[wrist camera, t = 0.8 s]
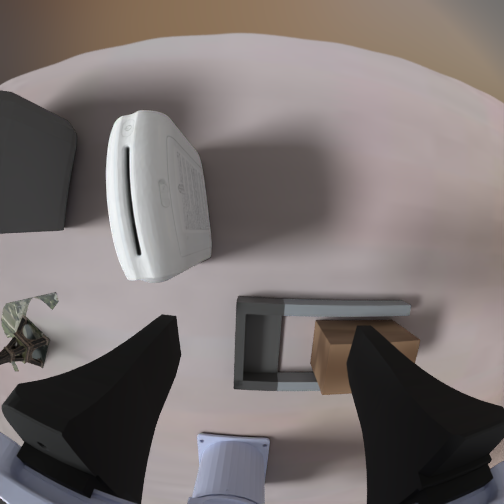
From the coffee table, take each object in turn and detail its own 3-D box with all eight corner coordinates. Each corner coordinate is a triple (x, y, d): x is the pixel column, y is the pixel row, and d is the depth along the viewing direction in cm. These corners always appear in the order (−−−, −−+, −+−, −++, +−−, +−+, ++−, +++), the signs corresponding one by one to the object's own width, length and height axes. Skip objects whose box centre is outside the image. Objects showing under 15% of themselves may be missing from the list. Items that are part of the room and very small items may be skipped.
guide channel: (386, 376, 26) (394, 384, 24) (235, 378, 27) (233, 388, 25) (401, 300, 26) (411, 305, 24) (238, 296, 26) (236, 301, 24)
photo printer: (158, 157, 25) (89, 110, 13) (202, 148, 25) (160, 88, 12) (171, 267, 26) (105, 298, 13) (217, 261, 26) (182, 291, 13)
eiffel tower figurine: (59, 288, 27) (-27, 319, 14) (88, 371, 28) (21, 430, 14) (-5, 305, 27) (-72, 328, 14) (18, 372, 28) (-40, 409, 15)
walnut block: (383, 359, 26) (408, 386, 20) (310, 362, 26) (322, 394, 20) (391, 319, 26) (420, 340, 20) (315, 319, 26) (330, 344, 20)
